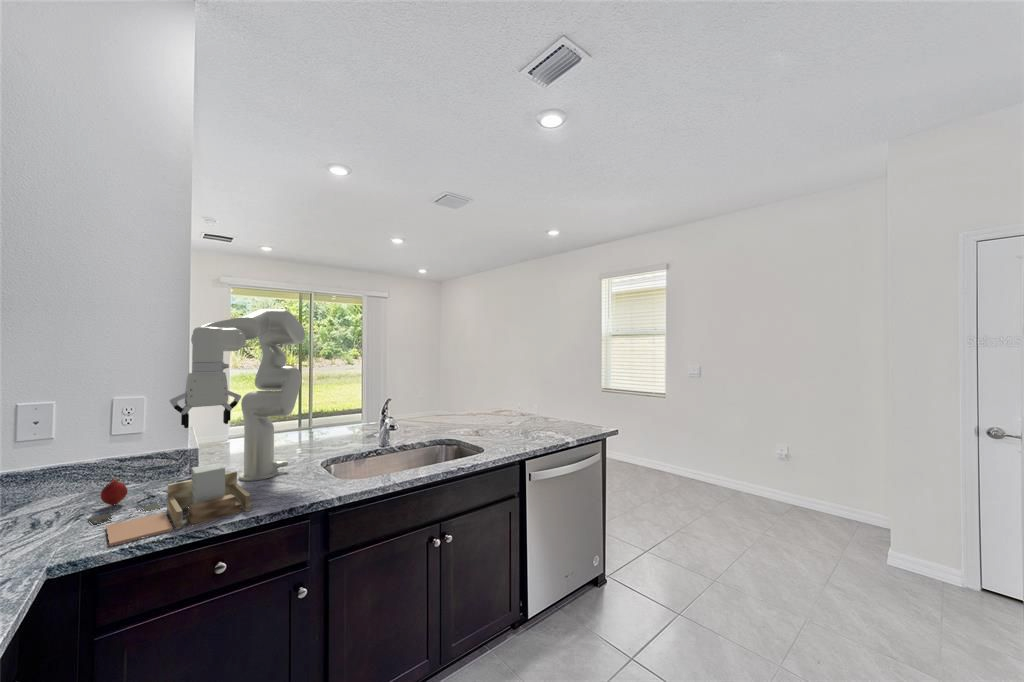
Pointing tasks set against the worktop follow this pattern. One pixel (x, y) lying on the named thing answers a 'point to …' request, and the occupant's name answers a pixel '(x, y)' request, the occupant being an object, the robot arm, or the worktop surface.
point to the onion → (114, 492)
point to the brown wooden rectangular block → (213, 509)
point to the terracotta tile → (138, 528)
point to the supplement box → (207, 482)
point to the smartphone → (105, 517)
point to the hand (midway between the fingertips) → (206, 425)
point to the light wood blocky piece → (182, 494)
